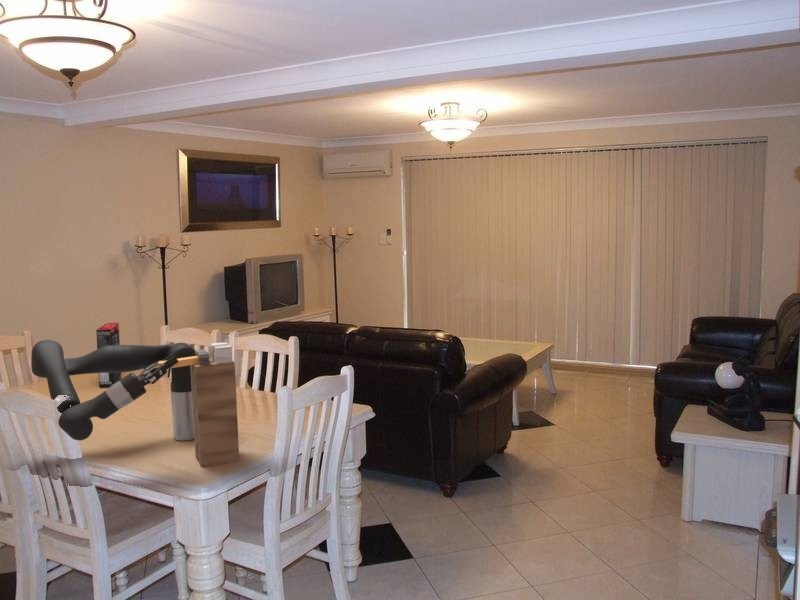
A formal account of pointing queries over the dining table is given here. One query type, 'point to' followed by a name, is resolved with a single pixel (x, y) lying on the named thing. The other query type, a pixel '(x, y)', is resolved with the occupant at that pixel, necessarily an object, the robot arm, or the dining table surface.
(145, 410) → the dining table surface
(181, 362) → the block
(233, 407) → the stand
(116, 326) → the graphics card box
